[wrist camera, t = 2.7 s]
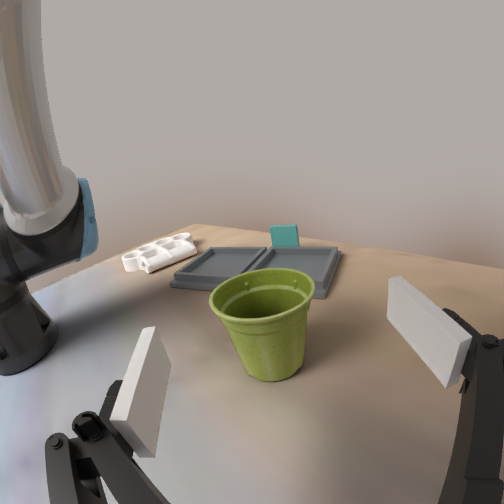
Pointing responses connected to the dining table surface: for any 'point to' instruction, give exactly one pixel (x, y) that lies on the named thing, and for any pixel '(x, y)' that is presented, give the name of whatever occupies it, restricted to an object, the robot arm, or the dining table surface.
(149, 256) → the knuckle duster
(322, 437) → the dining table surface
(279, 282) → the plant pot
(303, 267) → the tray
